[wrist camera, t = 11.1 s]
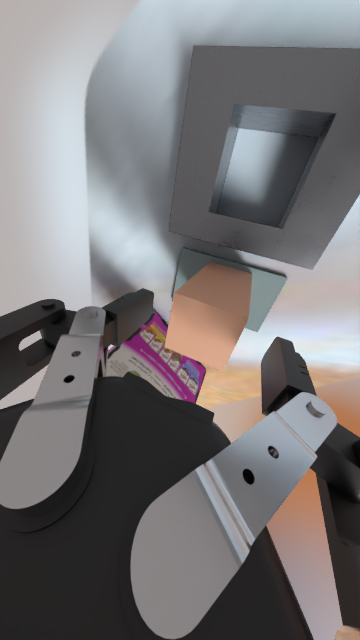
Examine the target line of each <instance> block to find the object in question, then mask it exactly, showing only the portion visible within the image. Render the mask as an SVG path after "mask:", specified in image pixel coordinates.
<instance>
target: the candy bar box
mask: <svg viewBox="0 0 360 640" xmlns="http://www.w3.org/2000/svg"><path fill="white" fill-rule="evenodd" d="M167 330H168V326H167V325H166V323H165V322H164V321H163V320H162V319H161V318H160V316H159V315H158V314H157V313H156V312H154V313H152V314H151V317H150V318H149V320H148V321H147V322H146V323H144V324H143V325H142V326H141V327H140V328H139V329H138V330H137V331H136V332H134V333H133V334H132V335H131V336H130V337H129V338H128V339H127V340H126V341H125V342H123V343H122V344H121V345H120V346H119V347H116V346H113V347H112V348H111V349H110V350H109V351H108V359H107V370H106V377H107V376H119V377H123V376H124V375H125V374H126V373H127V372H128V371H129V372H131V373H133V374H135V375H137V376H139V377H141V378H143V379H145V380H147V381H148V382H150V383H151V384H152V385H153V386H154V387H155V388H157V389H158V390H159V391H160V392H161V393H162V394H164V395H165V396H167V397H171V398H176V399H180V400H185V401H190V402H193V403H195V404H196V401H197V398H198V395H199V392H200V389H201V386H202V383H203V380H204V377H205V374H206V370H205V368H204V367H203V366H202V365H201V364H200V362H199V361H196V360H194V359H191V358H189V357H187V356H184V355H182V354H180V353H177V352H175V351H173V350H170V349H168V348H166V347H165V341H166V336H167Z"/></svg>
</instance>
